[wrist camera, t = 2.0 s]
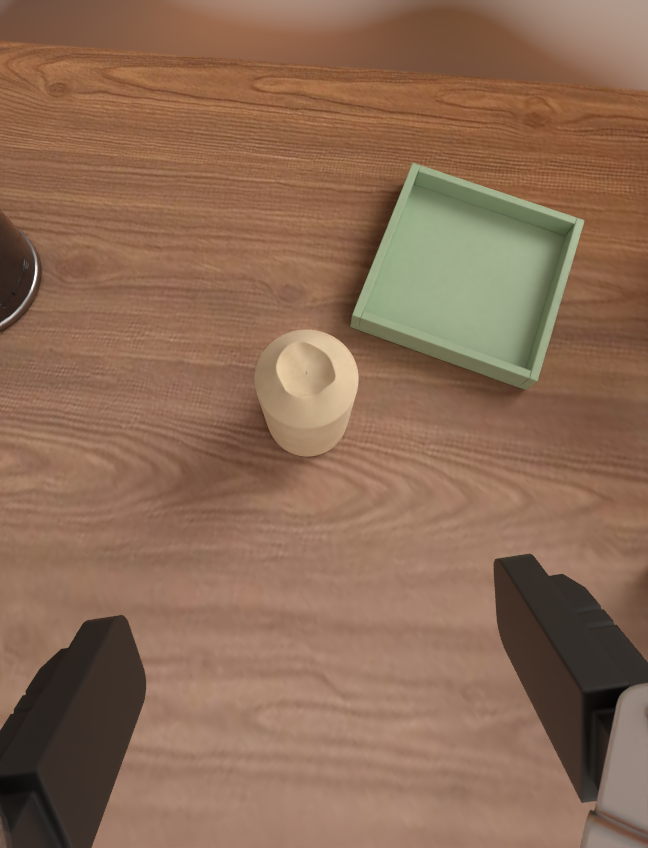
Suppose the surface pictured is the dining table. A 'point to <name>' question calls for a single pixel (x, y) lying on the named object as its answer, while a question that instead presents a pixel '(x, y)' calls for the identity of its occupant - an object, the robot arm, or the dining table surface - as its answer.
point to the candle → (306, 390)
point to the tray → (469, 276)
